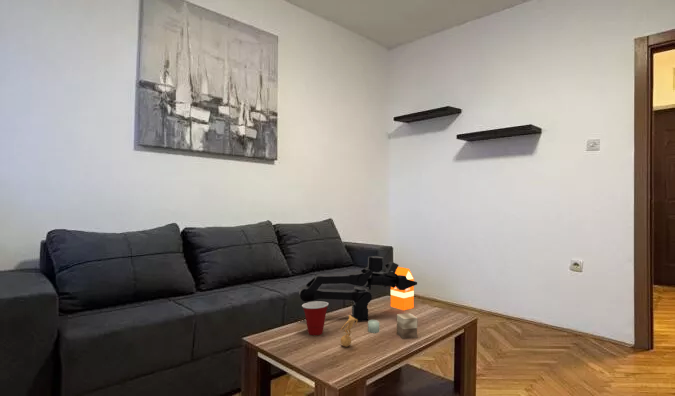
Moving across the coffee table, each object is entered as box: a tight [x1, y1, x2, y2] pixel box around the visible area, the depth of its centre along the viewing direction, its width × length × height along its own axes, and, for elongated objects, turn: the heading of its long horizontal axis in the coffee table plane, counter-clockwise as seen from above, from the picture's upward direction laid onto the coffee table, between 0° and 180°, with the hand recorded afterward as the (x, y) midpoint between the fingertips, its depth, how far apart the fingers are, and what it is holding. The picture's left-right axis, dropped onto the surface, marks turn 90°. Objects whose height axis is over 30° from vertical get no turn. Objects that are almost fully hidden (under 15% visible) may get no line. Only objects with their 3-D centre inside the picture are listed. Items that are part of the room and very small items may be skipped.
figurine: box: [340, 314, 359, 348], centre depth 140 cm, size 8×6×12 cm
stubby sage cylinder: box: [367, 319, 380, 334], centre depth 158 cm, size 5×5×4 cm
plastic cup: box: [301, 300, 329, 336], centre depth 155 cm, size 11×11×12 cm
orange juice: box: [390, 266, 415, 311], centre depth 193 cm, size 8×9×20 cm
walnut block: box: [396, 324, 418, 340], centre depth 153 cm, size 6×6×4 cm
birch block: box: [396, 312, 418, 329], centre depth 153 cm, size 6×6×4 cm
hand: (413, 282), depth 177 cm, fingers open, 9 cm apart
